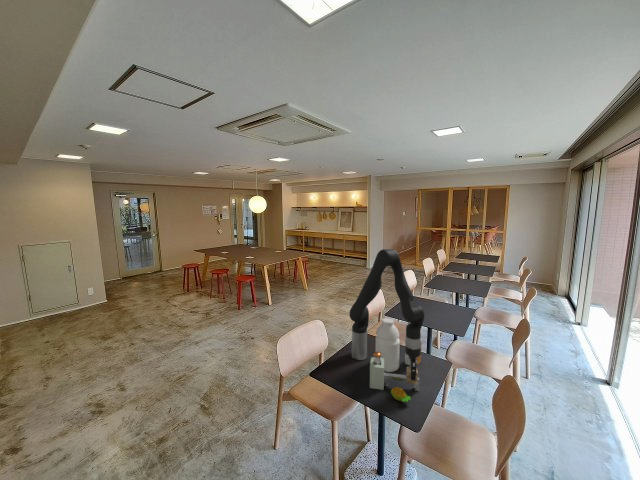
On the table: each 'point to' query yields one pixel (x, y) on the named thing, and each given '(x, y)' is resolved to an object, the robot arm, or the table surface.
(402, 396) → the toy pineapple
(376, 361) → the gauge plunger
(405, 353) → the small box
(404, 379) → the rail
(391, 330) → the bottle
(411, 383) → the block
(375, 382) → the cabinet
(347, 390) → the table surface
